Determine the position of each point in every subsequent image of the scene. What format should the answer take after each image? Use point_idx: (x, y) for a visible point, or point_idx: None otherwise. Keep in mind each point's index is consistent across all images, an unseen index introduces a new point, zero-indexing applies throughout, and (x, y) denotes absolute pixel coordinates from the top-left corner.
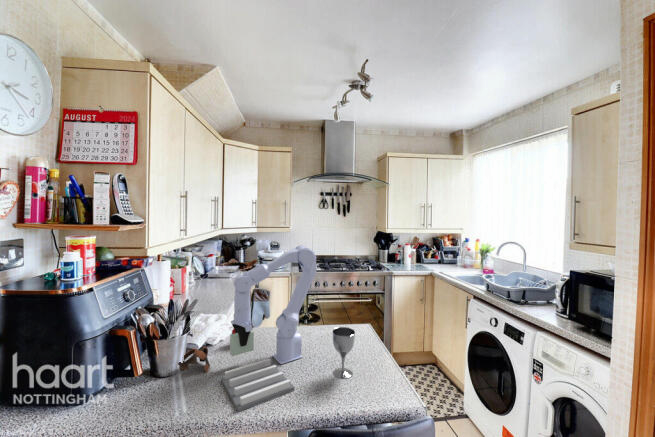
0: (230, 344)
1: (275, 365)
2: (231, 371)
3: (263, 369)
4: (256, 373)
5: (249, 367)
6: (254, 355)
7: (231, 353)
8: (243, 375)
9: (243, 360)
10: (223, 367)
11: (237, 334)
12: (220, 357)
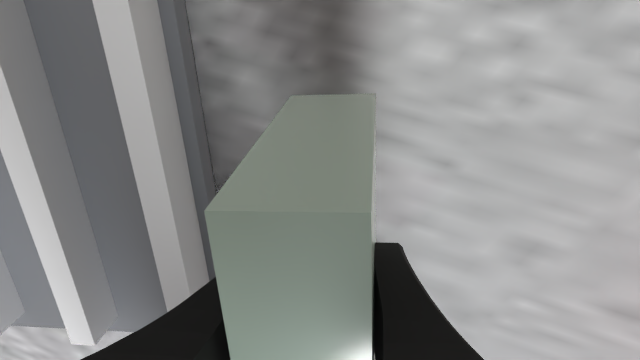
0: (354, 133)
1: (84, 342)
2: (104, 22)
3: (53, 261)
4: (22, 201)
5: (144, 188)
6: (440, 290)
7: (311, 101)
8: (6, 102)
9: (414, 196)
10: (398, 3)
11: (285, 332)
12: (630, 24)
